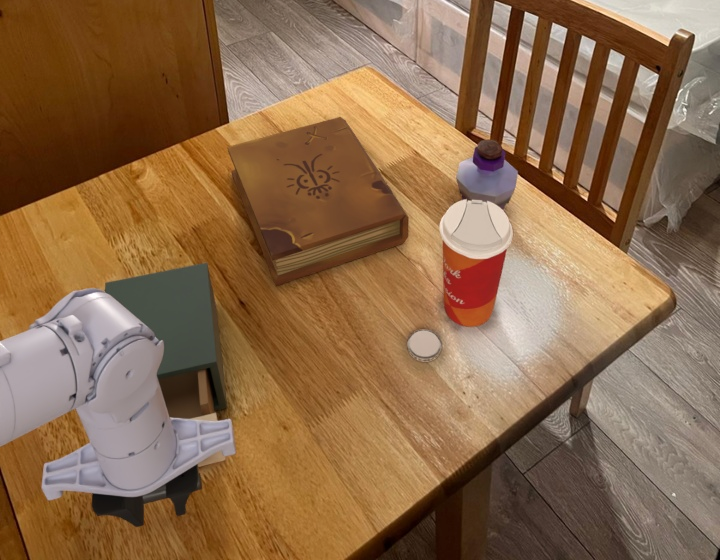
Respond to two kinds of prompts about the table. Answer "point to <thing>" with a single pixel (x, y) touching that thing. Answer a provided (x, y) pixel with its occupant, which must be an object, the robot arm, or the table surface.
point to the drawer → (188, 411)
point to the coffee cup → (473, 259)
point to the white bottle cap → (424, 345)
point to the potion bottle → (487, 175)
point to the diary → (315, 199)
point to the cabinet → (178, 320)
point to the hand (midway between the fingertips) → (160, 508)
